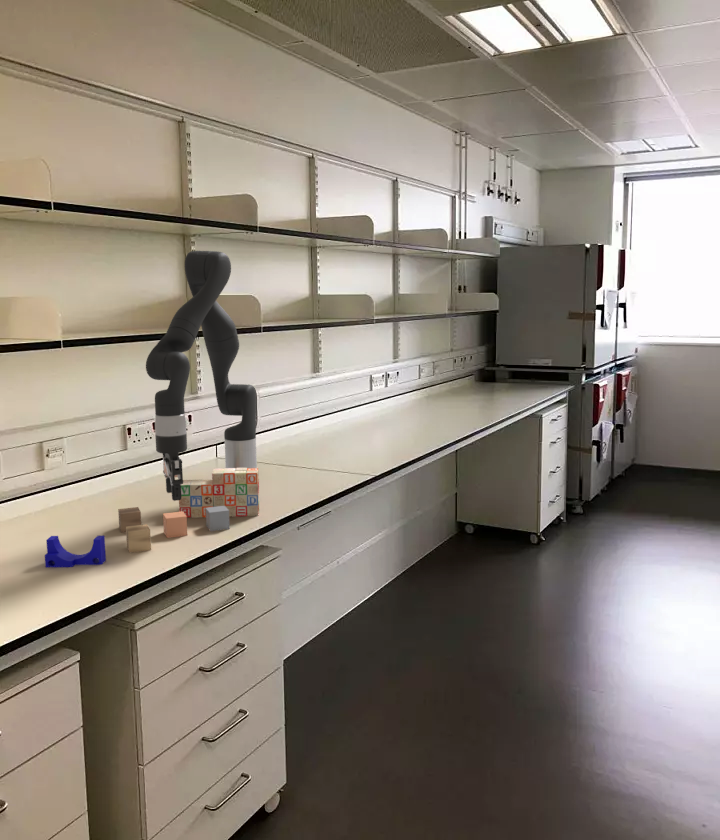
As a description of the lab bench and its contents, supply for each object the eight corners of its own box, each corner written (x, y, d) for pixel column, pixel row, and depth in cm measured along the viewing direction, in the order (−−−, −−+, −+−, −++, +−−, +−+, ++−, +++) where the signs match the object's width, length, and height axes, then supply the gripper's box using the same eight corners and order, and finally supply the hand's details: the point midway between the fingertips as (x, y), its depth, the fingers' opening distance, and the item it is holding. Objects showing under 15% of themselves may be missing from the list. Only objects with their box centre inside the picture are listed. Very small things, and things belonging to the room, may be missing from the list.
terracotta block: (163, 532, 201) (163, 513, 201) (183, 530, 203) (182, 511, 202) (167, 538, 197) (166, 518, 196) (187, 535, 199) (186, 516, 198)
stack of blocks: (179, 518, 214) (177, 474, 212) (182, 512, 220) (180, 468, 218) (259, 516, 215) (257, 472, 213) (259, 510, 222) (258, 467, 220)
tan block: (119, 527, 206) (118, 509, 205) (139, 525, 208) (138, 506, 207) (121, 533, 201) (120, 514, 200) (141, 530, 203) (140, 511, 202)
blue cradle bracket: (45, 568, 176) (43, 542, 175) (53, 561, 181) (51, 535, 180) (99, 567, 176) (97, 541, 175) (106, 560, 181) (104, 535, 180)
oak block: (126, 546, 190) (125, 526, 190) (148, 544, 192) (147, 524, 191) (129, 553, 186) (128, 532, 185) (151, 550, 188) (150, 529, 187)
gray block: (206, 526, 206) (205, 507, 206) (225, 524, 208) (224, 505, 208) (210, 531, 202) (209, 512, 201) (229, 529, 204) (229, 510, 203)
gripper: (191, 435, 191) (194, 501, 193) (181, 427, 204) (183, 488, 206) (159, 438, 188) (163, 504, 190) (151, 429, 201) (154, 491, 203)
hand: (173, 496), depth 198 cm, fingers open, 8 cm apart
